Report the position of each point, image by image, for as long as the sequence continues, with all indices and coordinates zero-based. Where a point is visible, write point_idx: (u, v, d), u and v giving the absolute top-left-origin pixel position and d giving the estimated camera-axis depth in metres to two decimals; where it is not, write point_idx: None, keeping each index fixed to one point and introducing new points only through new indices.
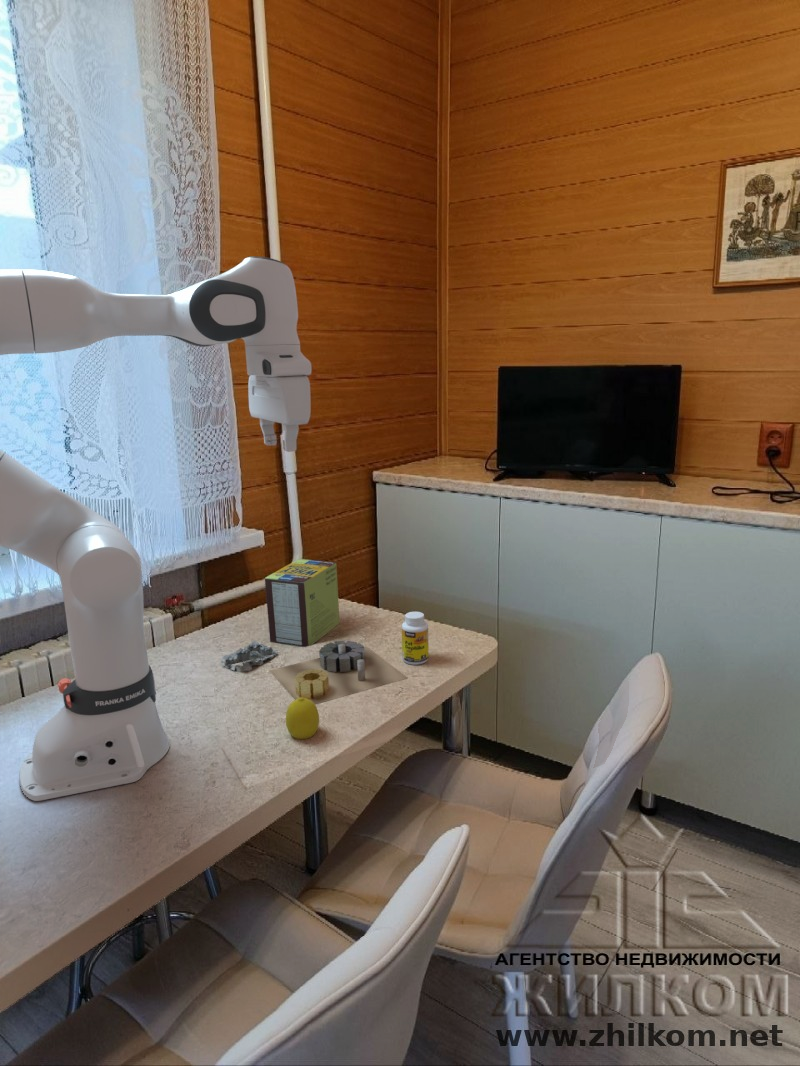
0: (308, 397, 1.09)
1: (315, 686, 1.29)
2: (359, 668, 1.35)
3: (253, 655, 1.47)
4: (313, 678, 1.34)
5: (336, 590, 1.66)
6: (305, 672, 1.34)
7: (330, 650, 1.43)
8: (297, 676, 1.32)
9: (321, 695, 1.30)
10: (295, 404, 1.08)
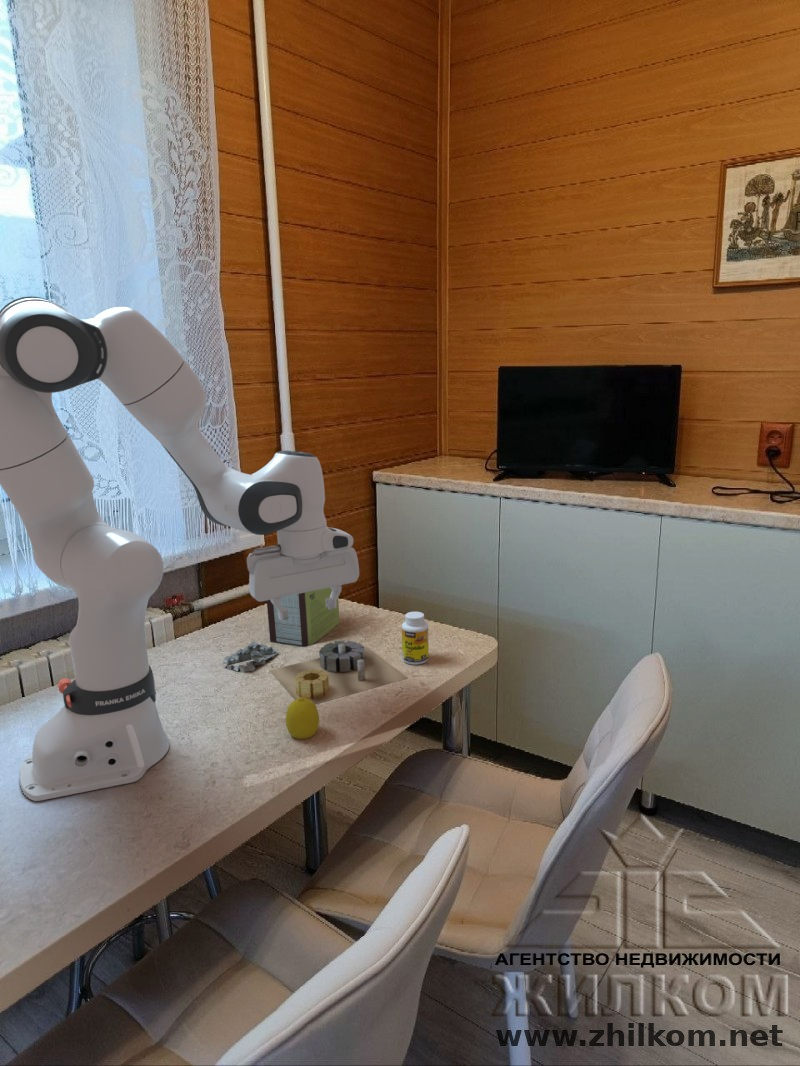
0: None
1: (315, 686, 1.29)
2: (359, 668, 1.35)
3: (254, 655, 1.47)
4: (313, 678, 1.34)
5: None
6: (305, 672, 1.34)
7: (330, 650, 1.43)
8: (297, 676, 1.32)
9: (321, 695, 1.30)
10: None
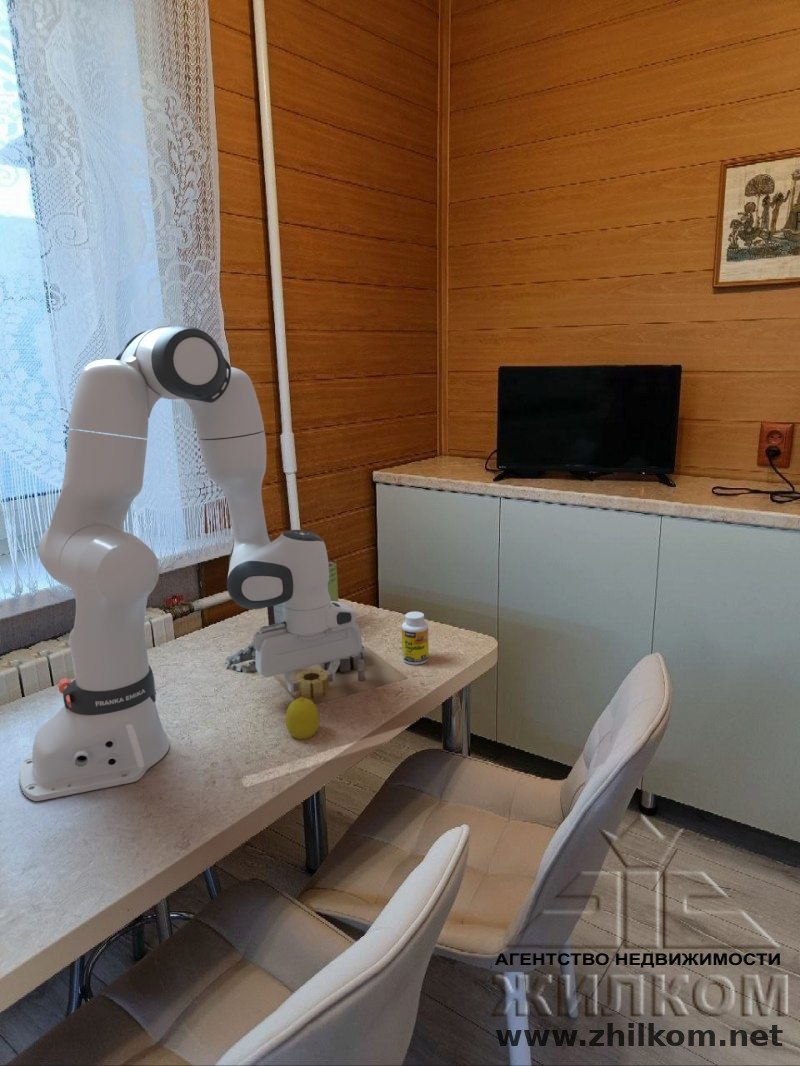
0: None
1: (315, 686, 1.29)
2: (359, 668, 1.35)
3: None
4: (313, 678, 1.34)
5: (336, 590, 1.66)
6: (305, 672, 1.34)
7: None
8: (297, 676, 1.32)
9: (321, 695, 1.30)
10: None
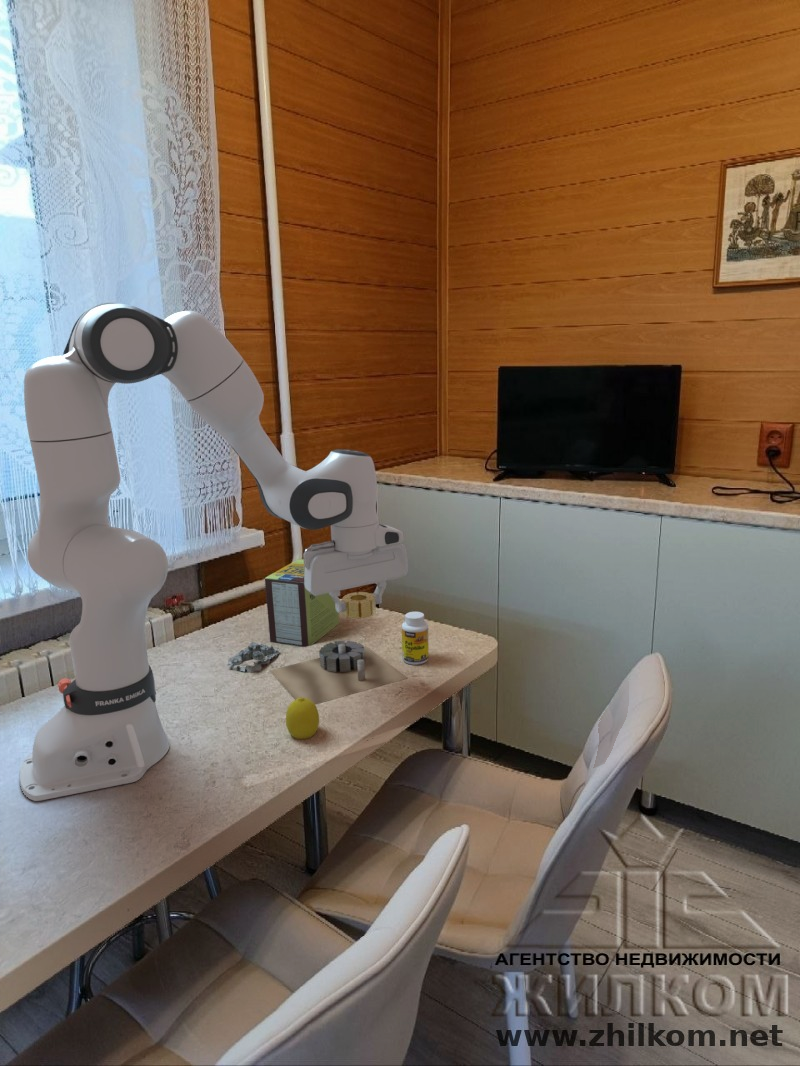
0: None
1: (363, 606, 1.30)
2: (359, 668, 1.35)
3: (258, 655, 1.47)
4: (359, 600, 1.34)
5: None
6: (351, 594, 1.34)
7: (330, 650, 1.43)
8: (344, 597, 1.33)
9: (369, 615, 1.31)
10: None
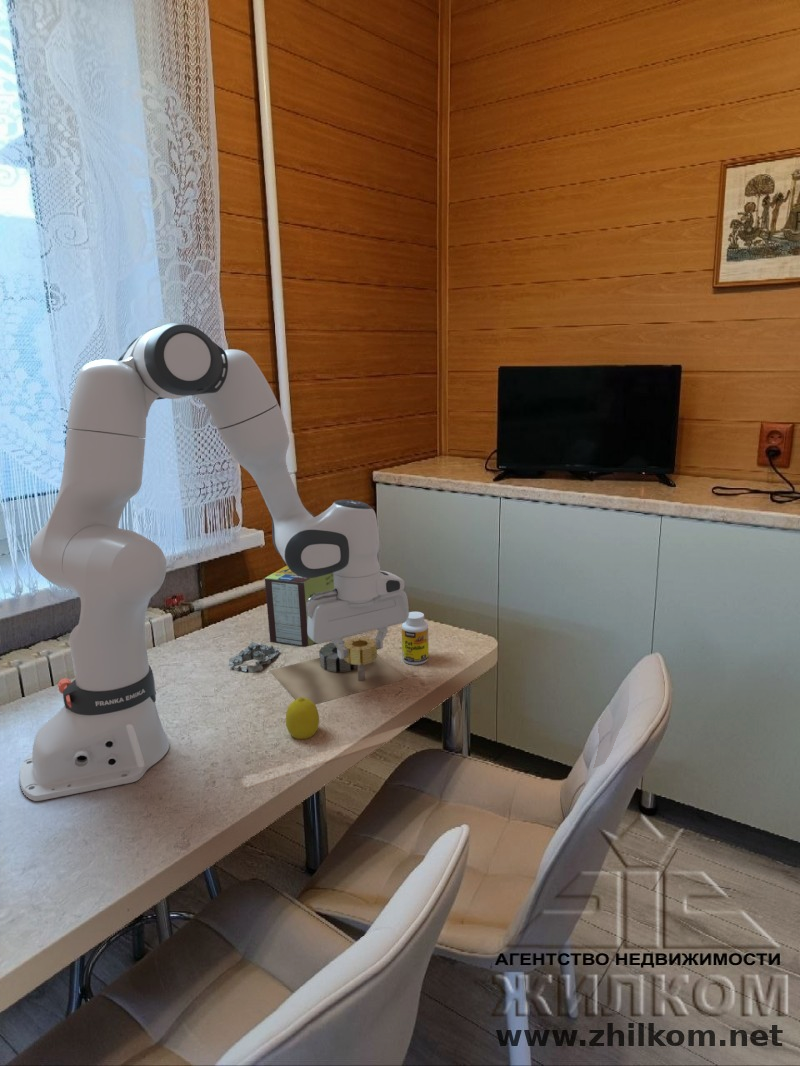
0: None
1: (365, 652, 1.32)
2: (359, 668, 1.35)
3: (258, 655, 1.47)
4: (361, 645, 1.37)
5: None
6: (353, 639, 1.37)
7: (330, 650, 1.43)
8: (346, 643, 1.35)
9: (370, 661, 1.33)
10: None
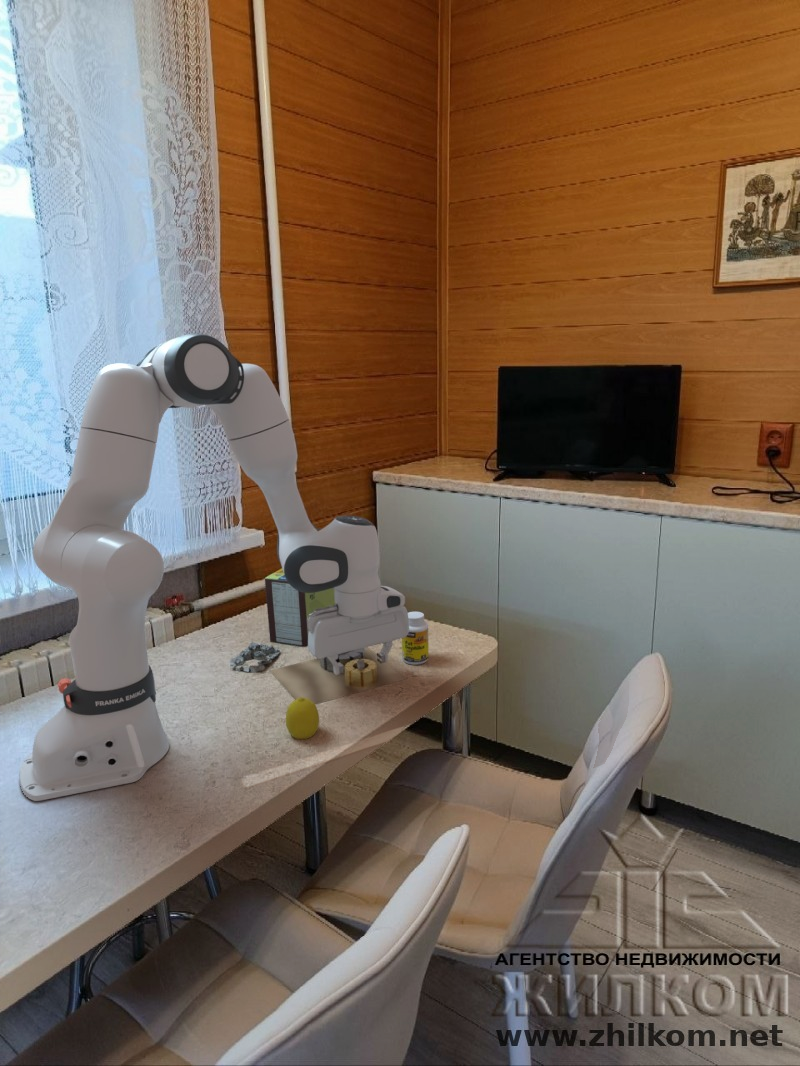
0: None
1: (365, 675, 1.33)
2: (359, 668, 1.35)
3: (259, 655, 1.47)
4: None
5: None
6: (353, 661, 1.38)
7: None
8: (347, 665, 1.36)
9: (371, 683, 1.34)
10: None
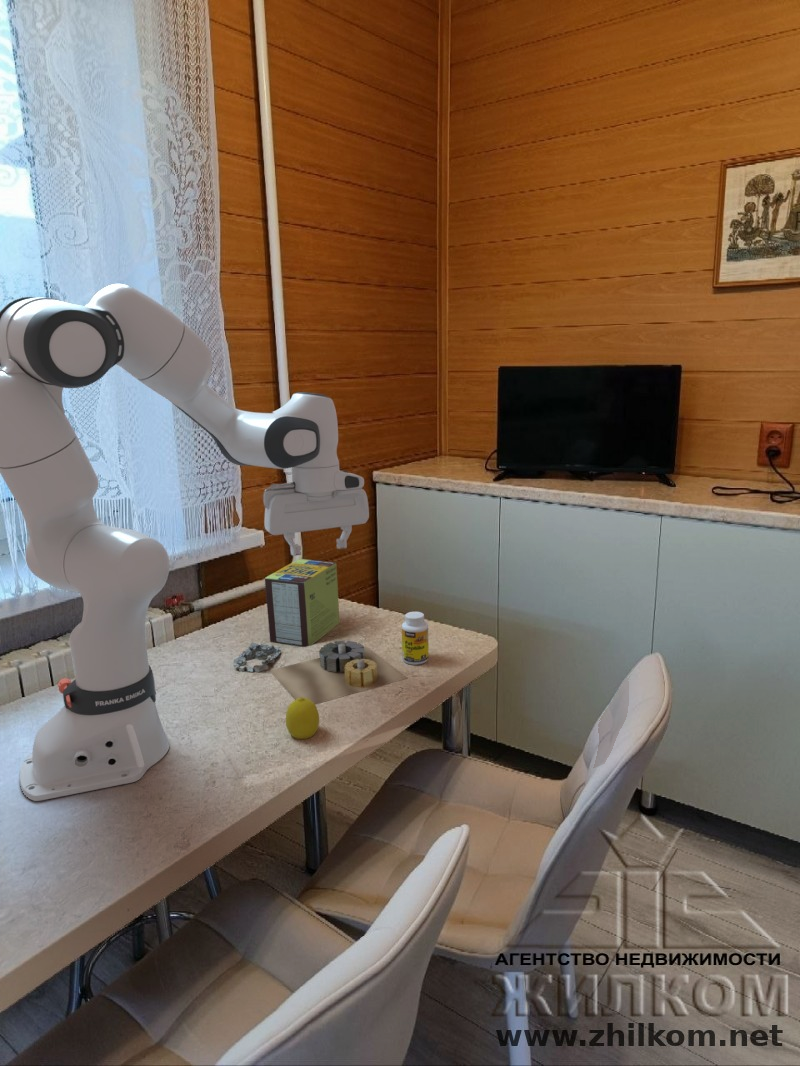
0: None
1: (365, 675, 1.33)
2: (359, 668, 1.35)
3: (261, 655, 1.47)
4: None
5: (336, 590, 1.66)
6: (353, 661, 1.38)
7: (330, 650, 1.43)
8: (347, 665, 1.36)
9: (371, 683, 1.34)
10: None
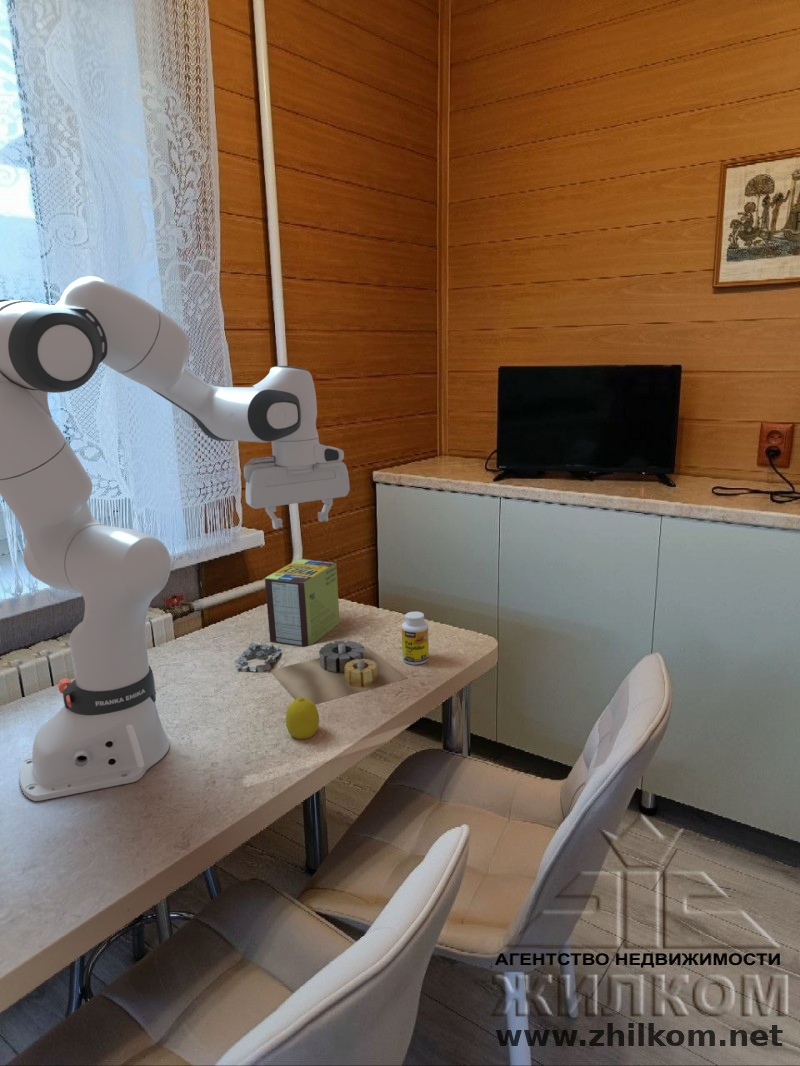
0: None
1: (365, 675, 1.33)
2: (359, 668, 1.35)
3: (262, 655, 1.47)
4: None
5: (336, 590, 1.66)
6: (353, 661, 1.38)
7: (330, 650, 1.43)
8: (347, 665, 1.36)
9: (371, 683, 1.34)
10: None
